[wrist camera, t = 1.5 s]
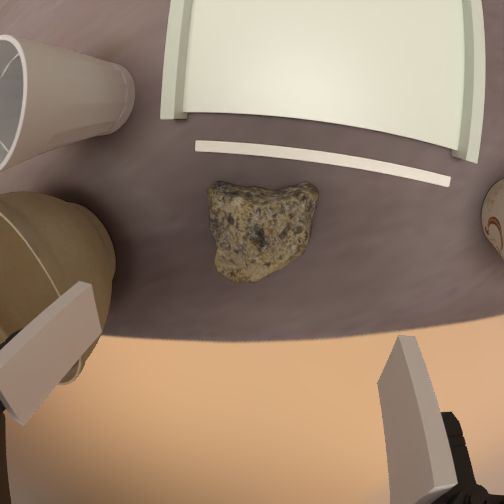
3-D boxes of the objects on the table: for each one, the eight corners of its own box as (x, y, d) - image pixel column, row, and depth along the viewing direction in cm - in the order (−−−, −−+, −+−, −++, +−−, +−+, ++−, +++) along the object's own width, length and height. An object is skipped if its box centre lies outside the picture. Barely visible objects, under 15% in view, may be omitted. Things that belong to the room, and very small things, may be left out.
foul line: (196, 150, 22) (195, 151, 22) (196, 140, 21) (195, 140, 21) (447, 186, 19) (448, 187, 19) (449, 176, 19) (450, 177, 19)
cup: (57, 107, 22) (-51, 123, 11) (107, 37, 19) (-4, 13, 8) (104, 163, 23) (-7, 204, 12) (163, 91, 20) (49, 80, 9)
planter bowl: (21, 165, 25) (-60, 194, 15) (148, 174, 23) (54, 216, 13) (40, 296, 31) (-17, 346, 22) (151, 334, 30) (100, 412, 20)
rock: (313, 271, 24) (313, 302, 20) (216, 265, 26) (199, 293, 21) (318, 181, 21) (321, 195, 17) (211, 179, 23) (190, 192, 19)
